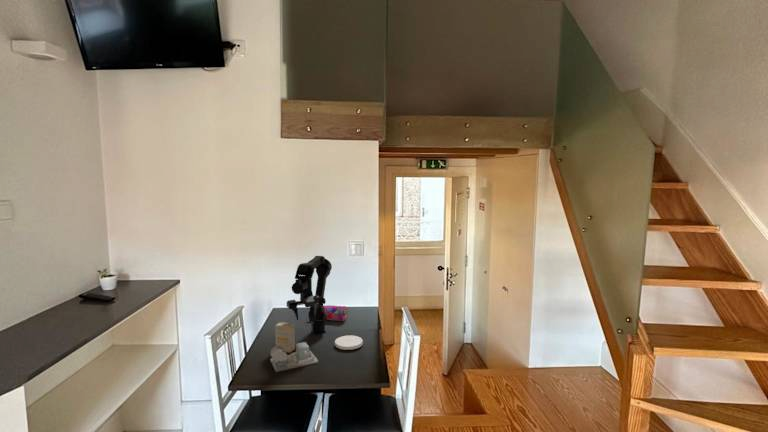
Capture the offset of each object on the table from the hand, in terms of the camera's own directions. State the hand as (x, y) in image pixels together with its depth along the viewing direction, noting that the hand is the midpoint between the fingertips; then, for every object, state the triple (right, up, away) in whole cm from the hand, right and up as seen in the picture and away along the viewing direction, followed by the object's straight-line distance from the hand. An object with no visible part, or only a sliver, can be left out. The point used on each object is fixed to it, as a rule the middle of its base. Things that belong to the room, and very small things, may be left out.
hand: (306, 318), depth 194 cm
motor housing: (-2, -15, -19) cm, 24 cm away
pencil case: (+6, -10, +35) cm, 38 cm away
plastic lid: (+22, -14, -1) cm, 26 cm away
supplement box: (-9, -14, -7) cm, 18 cm away
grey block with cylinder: (+2, -14, -17) cm, 22 cm away
